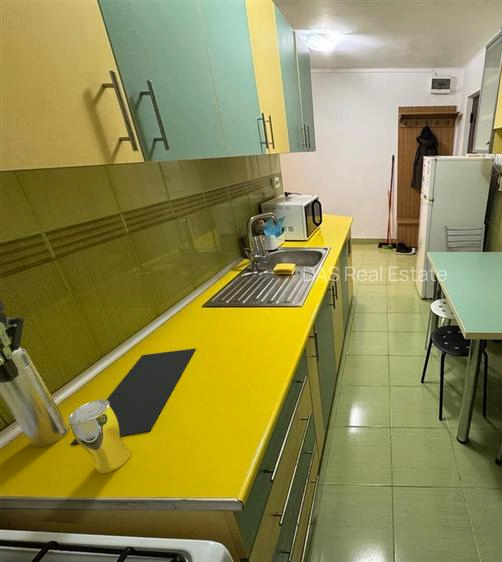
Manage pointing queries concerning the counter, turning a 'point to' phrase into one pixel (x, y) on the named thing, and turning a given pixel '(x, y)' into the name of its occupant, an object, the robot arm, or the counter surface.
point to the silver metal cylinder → (33, 403)
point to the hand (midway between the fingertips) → (9, 379)
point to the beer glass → (100, 434)
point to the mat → (147, 390)
